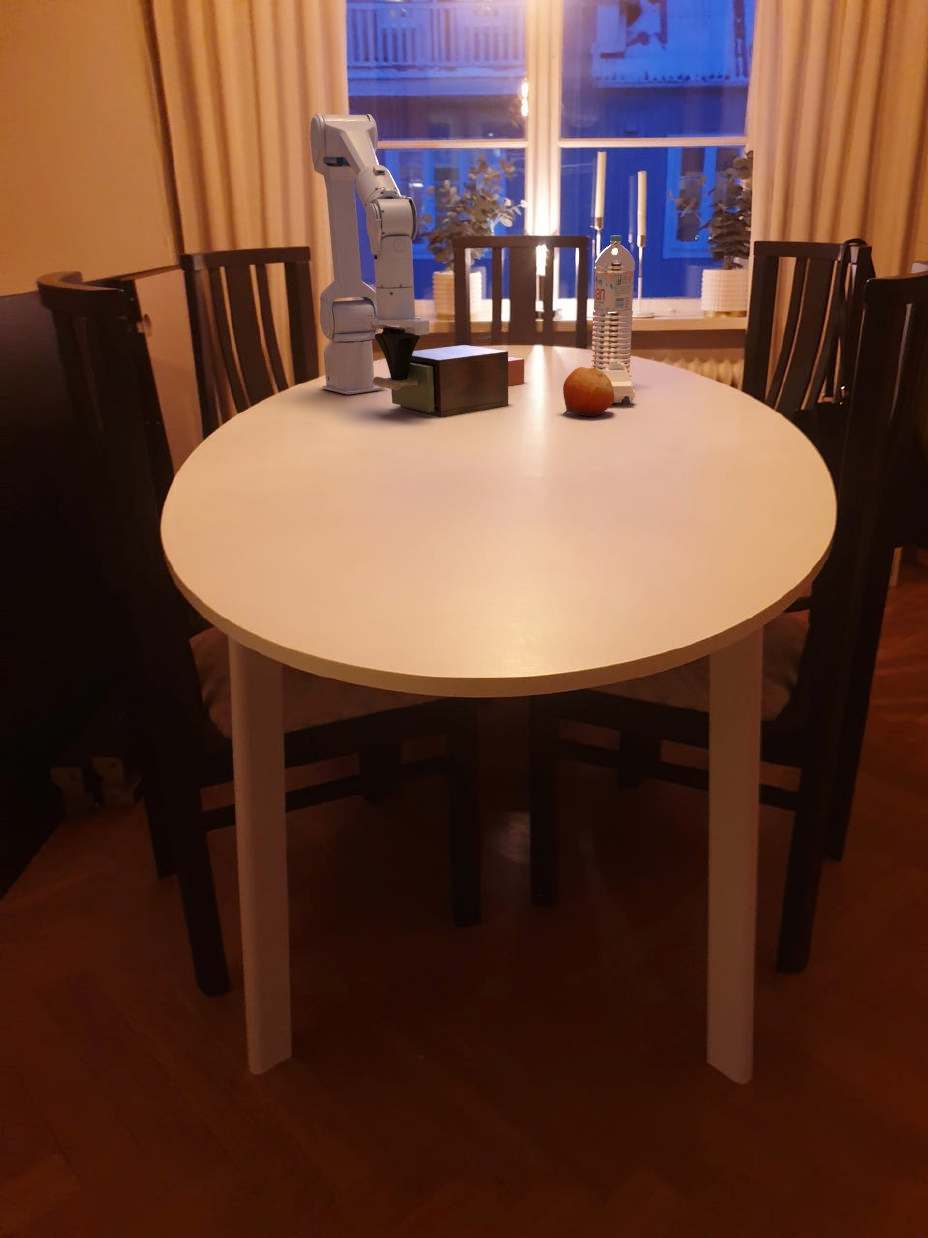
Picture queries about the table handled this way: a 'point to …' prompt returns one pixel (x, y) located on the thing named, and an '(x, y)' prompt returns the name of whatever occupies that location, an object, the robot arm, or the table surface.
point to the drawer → (414, 387)
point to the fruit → (587, 392)
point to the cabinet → (467, 378)
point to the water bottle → (613, 306)
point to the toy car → (620, 381)
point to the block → (515, 371)
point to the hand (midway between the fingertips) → (399, 379)
